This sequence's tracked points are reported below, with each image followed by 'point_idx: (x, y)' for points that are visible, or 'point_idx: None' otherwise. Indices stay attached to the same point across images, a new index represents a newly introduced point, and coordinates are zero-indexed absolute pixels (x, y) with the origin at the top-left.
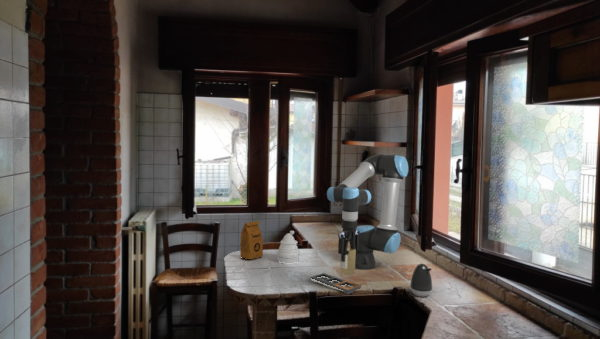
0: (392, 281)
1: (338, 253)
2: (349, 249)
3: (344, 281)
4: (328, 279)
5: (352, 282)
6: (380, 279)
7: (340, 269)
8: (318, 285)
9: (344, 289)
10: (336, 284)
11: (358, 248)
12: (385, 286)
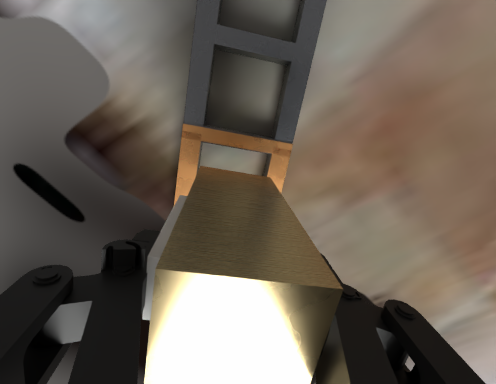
0: (438, 266)
1: (47, 266)
2: (229, 370)
3: (268, 143)
4: (244, 44)
5: (281, 183)
6: (441, 221)
7: (197, 173)
8: (174, 20)
9: (175, 199)
10: (196, 136)
11: (403, 381)
12: (365, 274)
